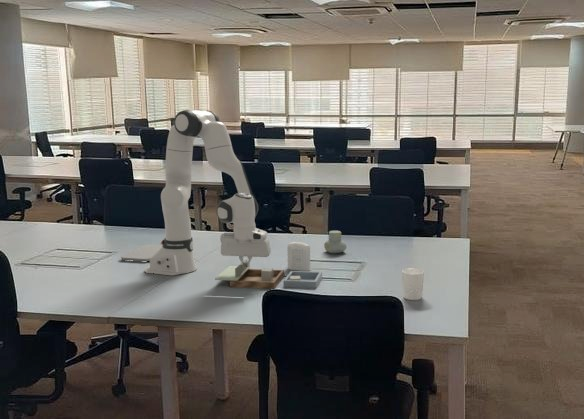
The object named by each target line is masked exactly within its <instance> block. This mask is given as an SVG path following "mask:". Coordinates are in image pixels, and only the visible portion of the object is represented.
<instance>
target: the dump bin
mask: <svg viewBox="0 0 584 419" xmlns="http://www.w3.org/2000/svg"><path fill="white" fill-rule="evenodd" d="M290 276H300V278H301V281H300V280H290ZM322 278H323V271H299V270H290V271H289V273H288V274H287V275H286V277H284V279H283V280H282V282H283V288H299V289H300V288H302V289H303V288H304V289H305V288H306V289H317V287H318V286H319V284H320V282H321V281H322Z"/></svg>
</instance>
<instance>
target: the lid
mask: <svg viewBox="0 0 584 419" xmlns="http://www.w3.org/2000/svg"><path fill="white" fill-rule="evenodd" d="M243 260H244V261H245V262H248V259H243ZM250 267H251V266H250ZM250 267H242V263H240V264H238V265H229V266H227V267H226V268H225V269H224V270H222V272H220V273H219V274H218V275H216V277H215V278H214V280H215V281H230V280H231V281H237V280H238V279H239V278H240V277H241V276H242V275H243V274H244V273H245V272H246V271H247V270H248V269H251V268H250Z"/></svg>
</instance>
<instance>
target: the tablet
mask: <svg viewBox="0 0 584 419" xmlns="http://www.w3.org/2000/svg"><path fill="white" fill-rule="evenodd" d="M161 248H162V244H160V245H159V244H144V245H142V246H140V247H137V248H136V249H134V250H131V251H129V252H126V253H124V254H123V255H121V256H120V259H122V261H123V260H133V261H150V259H151V257H152V256H153V255H154V254H155V253H156V252H157V251H158V250H160V249H161Z"/></svg>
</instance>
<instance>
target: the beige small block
mask: <svg viewBox="0 0 584 419" xmlns="http://www.w3.org/2000/svg"><path fill="white" fill-rule="evenodd" d="M261 269H262V270H261V281H266V282H273V280H274V278H273V270H274V268H271V267H270V268H268V267H267V268H266V267H263V268H261Z"/></svg>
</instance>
